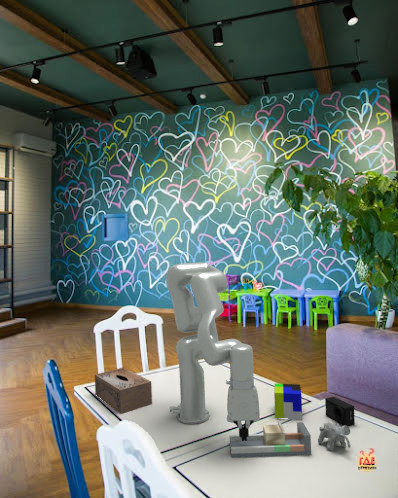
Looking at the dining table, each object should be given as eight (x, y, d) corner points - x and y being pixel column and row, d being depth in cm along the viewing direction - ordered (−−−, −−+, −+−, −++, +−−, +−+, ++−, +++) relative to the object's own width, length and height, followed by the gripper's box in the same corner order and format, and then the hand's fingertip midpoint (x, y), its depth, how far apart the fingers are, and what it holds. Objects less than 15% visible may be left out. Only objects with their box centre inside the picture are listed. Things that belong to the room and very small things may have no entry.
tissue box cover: (95, 396, 177) (94, 374, 177) (124, 388, 186) (123, 367, 186) (121, 414, 157) (120, 390, 156) (152, 404, 165) (151, 381, 165)
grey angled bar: (304, 451, 122) (304, 435, 122) (297, 437, 131) (297, 422, 131) (311, 451, 122) (310, 435, 122) (303, 436, 131) (303, 422, 131)
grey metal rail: (231, 457, 122) (231, 448, 122) (229, 442, 131) (229, 434, 131) (311, 454, 122) (310, 446, 122) (303, 440, 131) (303, 432, 131)
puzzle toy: (302, 420, 146) (301, 394, 145) (275, 419, 148) (274, 392, 147) (300, 409, 155) (300, 384, 155) (275, 408, 157) (274, 383, 157)
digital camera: (322, 416, 148) (322, 398, 148) (333, 413, 150) (333, 395, 150) (343, 428, 138) (342, 408, 138) (354, 425, 141) (354, 405, 141)
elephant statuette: (330, 437, 133) (328, 415, 133) (363, 449, 123) (361, 425, 124) (313, 447, 127) (311, 424, 127) (347, 460, 118) (345, 435, 118)
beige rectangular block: (267, 451, 122) (266, 433, 122) (262, 437, 131) (262, 421, 131) (286, 450, 122) (285, 433, 122) (280, 437, 131) (279, 420, 131)
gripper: (219, 388, 122) (221, 445, 123) (267, 386, 123) (268, 444, 123) (218, 379, 130) (220, 434, 130) (263, 378, 130) (264, 432, 130)
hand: (243, 438), depth 127 cm, fingers closed
